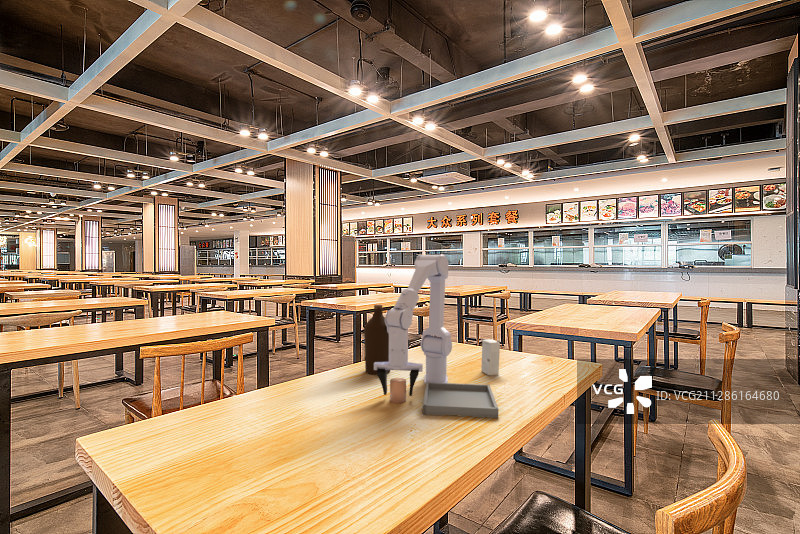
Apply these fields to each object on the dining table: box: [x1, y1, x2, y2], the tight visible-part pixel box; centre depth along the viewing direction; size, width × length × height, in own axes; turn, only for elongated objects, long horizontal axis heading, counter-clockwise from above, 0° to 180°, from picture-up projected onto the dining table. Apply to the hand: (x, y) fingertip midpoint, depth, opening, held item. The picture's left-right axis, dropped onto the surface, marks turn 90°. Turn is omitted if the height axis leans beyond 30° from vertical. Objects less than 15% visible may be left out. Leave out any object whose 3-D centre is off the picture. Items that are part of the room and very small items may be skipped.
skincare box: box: [480, 338, 501, 376], centre depth 144 cm, size 6×4×12 cm
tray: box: [422, 382, 499, 419], centre depth 114 cm, size 20×20×2 cm
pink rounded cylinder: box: [389, 377, 407, 404], centre depth 115 cm, size 5×5×6 cm
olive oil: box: [363, 304, 391, 376], centre depth 145 cm, size 11×11×25 cm
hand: (398, 394), depth 116 cm, fingers open, 7 cm apart
